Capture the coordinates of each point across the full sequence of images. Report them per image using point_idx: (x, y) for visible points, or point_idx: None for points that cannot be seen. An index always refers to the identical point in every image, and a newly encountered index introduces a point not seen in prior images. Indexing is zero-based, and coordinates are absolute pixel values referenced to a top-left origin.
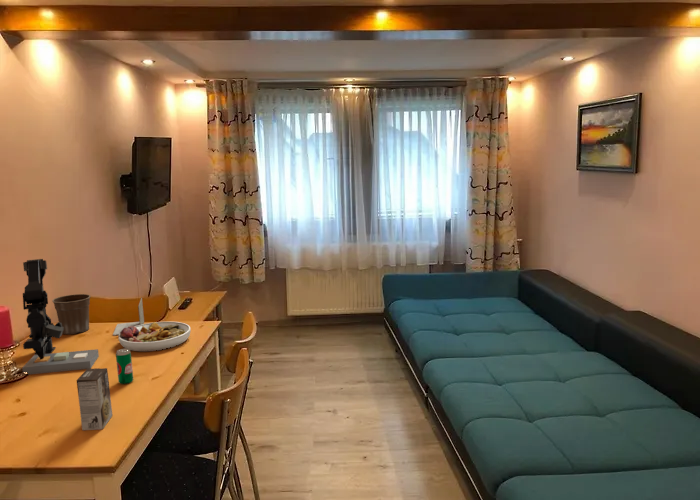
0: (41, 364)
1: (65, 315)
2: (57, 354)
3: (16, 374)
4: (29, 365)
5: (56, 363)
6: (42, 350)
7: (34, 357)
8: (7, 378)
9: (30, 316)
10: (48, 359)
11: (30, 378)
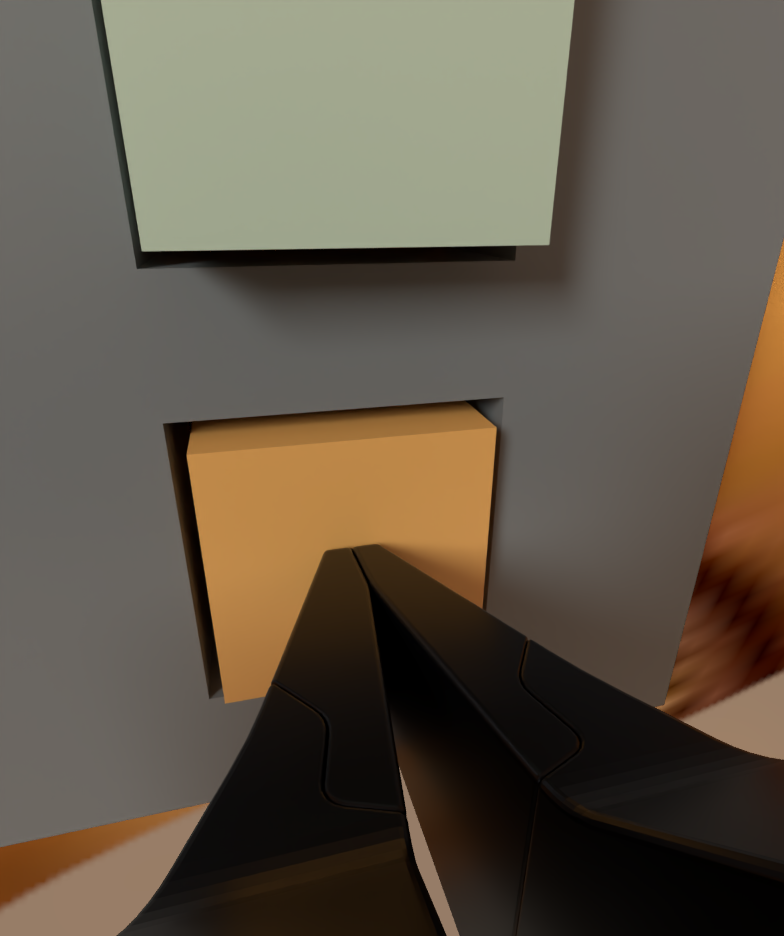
0: (664, 450)
1: None
2: (330, 170)
3: None
4: (617, 644)
5: (771, 82)
6: (570, 686)
7: (145, 776)
8: None
9: None
10: (351, 425)
11: (766, 471)
